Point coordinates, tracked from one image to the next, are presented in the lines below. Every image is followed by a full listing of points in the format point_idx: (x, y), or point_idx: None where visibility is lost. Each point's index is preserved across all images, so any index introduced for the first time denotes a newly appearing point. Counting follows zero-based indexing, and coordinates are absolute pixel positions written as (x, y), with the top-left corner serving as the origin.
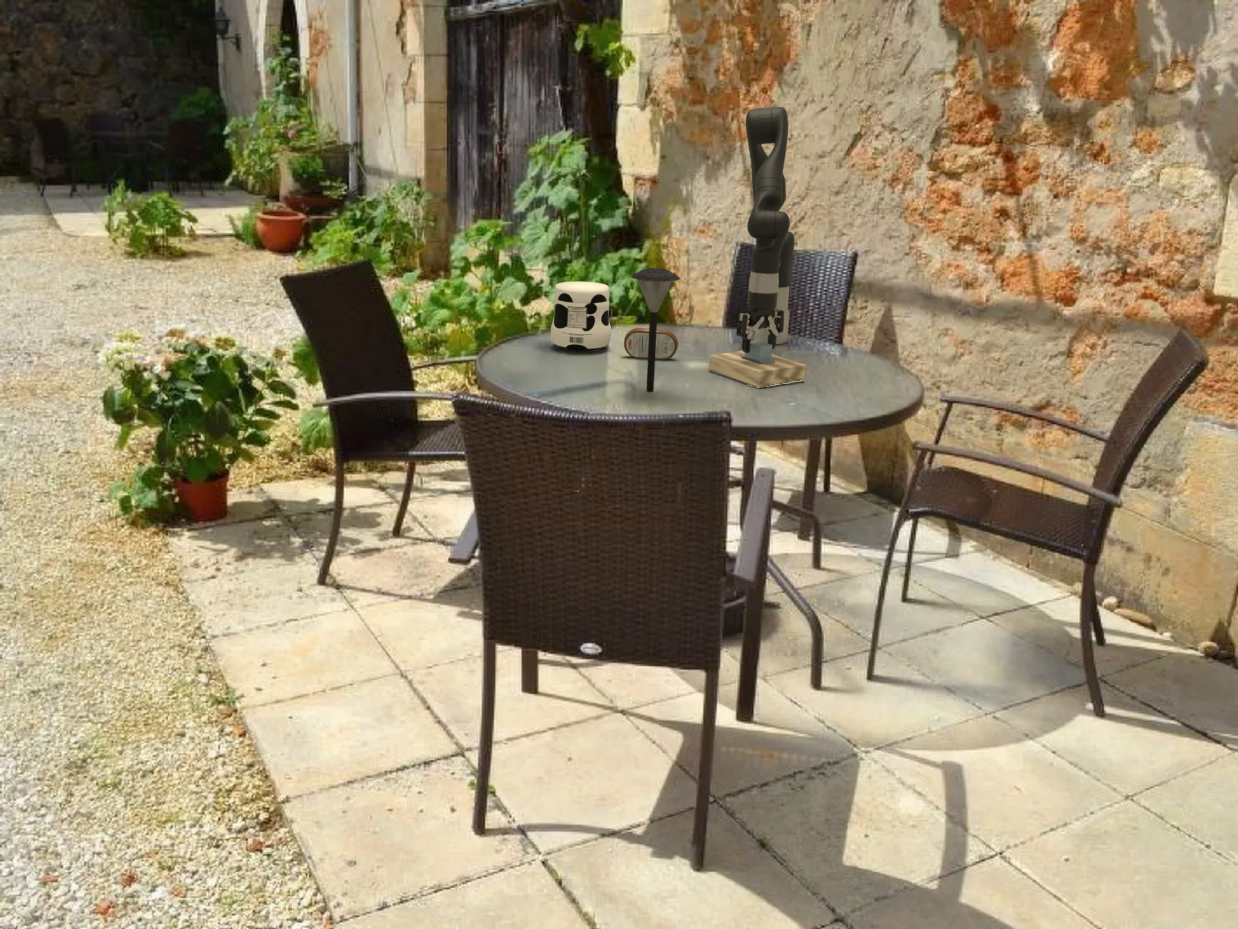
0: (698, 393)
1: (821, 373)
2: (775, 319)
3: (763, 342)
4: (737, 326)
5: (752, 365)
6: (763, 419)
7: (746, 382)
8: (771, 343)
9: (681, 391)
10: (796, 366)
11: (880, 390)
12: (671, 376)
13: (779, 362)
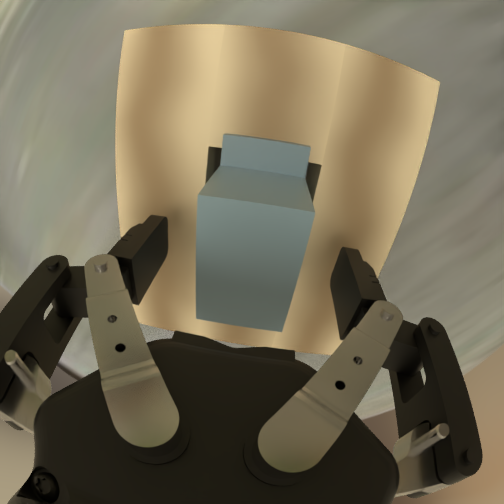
0: (24, 227)
1: (444, 289)
2: (432, 404)
3: (291, 278)
4: (15, 300)
5: (162, 267)
6: (77, 362)
7: None
8: (338, 293)
9: (5, 197)
10: (295, 351)
11: (371, 397)
12: (35, 64)
13: (298, 299)
